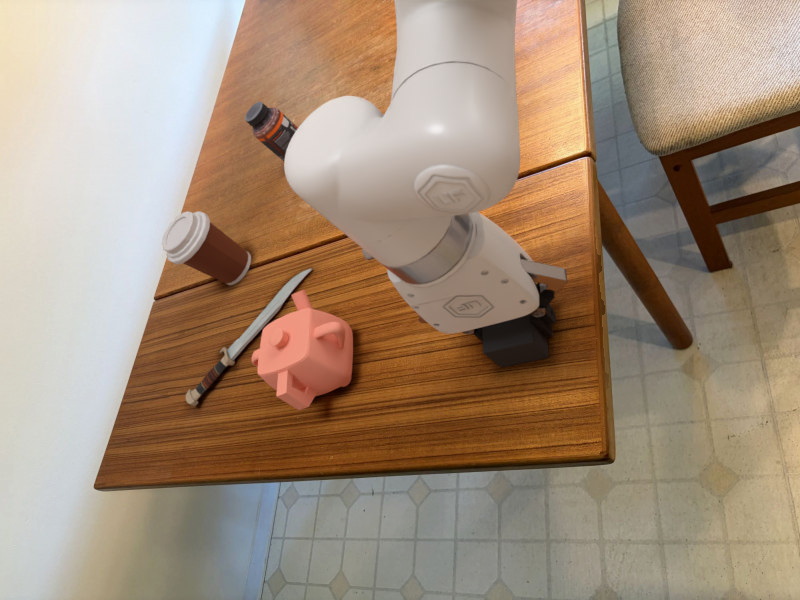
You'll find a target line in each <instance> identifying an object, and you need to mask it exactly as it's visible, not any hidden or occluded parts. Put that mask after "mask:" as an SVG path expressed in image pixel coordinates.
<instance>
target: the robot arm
mask: <svg viewBox="0 0 800 600" xmlns="http://www.w3.org/2000/svg"><path fill="white" fill-rule="evenodd" d="M517 6H518V0H394V10H395V11H394V12H395V23H396V52H395V60H394V68H393V77H392V87H391V97H390V103H389V105H388V107H387V109H386V111H385V113H383V112H382V111H381V110H380V109H379V108H378V107H377V106H376V105H375V104H374V103H373V102H371V101H369V100H368V99H366V98H363V97H361V96H357V95H343V96H339V97H336V98H332V99H330V100H327V101H326V102H325V103H322V104H321V105H319V106H318V107H317V108H315V109H314V110H313V111H312V112H311V113H310V114H309V115H308V116H307V117H306V118H305V119H304V120H303V121H302V123H301V124H299V126H298V129H297V130H296V132H295V133H294V135H293V137H292V139H291V141H290V143H289V145H288V148H287V150H286V155H285V160H284V161H283V170H284V176H285V179H286V181H287V183H288V186H289V187H290V189H291V190H292V191H293V192H294V193H295V194H296V195H297V196H298V197H299V198H300V199H301V200H302V201H304V203H306V204H307V205H309V206H310V207H311V208H312V209H313V210H315V211H316V212H317V213H318V214H320V215H321V216H322V217H323V218H324V219H326V220H327V221H328V222H329V223H331V224H332V225H333V226H334V227H336V228H337V229H338V230H339V231H340V232H342V233H343V234H344V235H345V236H347V237H348V238H349V239H350V240H351V241H352V242H354V243H355V244H356V245H358V246H359V248H361V252H362V255H363V257H364V258H365V260H367V261H372V260H376V261H377V262H378V263H380V264H381V265H382V266H383V267H385V268H386V272H387V277H388V279H389V281H390V282H391V284H392V286H393V287H394V288H395V290H396V291H397V292H398V294H399V295H400V297H401V298H402V299H403V300H404V301H405V303H406V304H407V305H408V306H409V307H410V308H411V309H412V310H413V311H414V312H416V314H417V315H418V322H419V323H421V324H427V325H428V324H429V325H430V326H431V327H432V328H434V329H435V330H436V331H437V332H439V333H442V334H446V335H447V334H448V335H453V334H460V333H462V334H463V335H469V336H470V335H474V337H476V338H477V339H478V340H479V341H480V342H482V343H483V339H482V327H485V326H489V325H493V324H497V323H500V322H504V321H508V320H512V319H516V318H519V317H522V316H525V315H528V314H529V315H530V321H531V322H532V323H533V324H534V325H535V326H536V327H537V328H538V329H539V330H540V331H541V333H542V334H543V335H544V336H546V337H547V338H550V337H553V336H554V331H553V324H556V322H557V316H556V311H555V308H553V306H552V305H551V304H550V303H551V302H552V301H553V300H554V299H555V294H556V293H559V292H560V291H561V290H562V289H563V288H564V287H566V285H567V284H568V281H569V280H568V275H567V269H566V268H565V267H560V266H556V265H551V264H547V263H542V262H539V261H534V260H533V259H532V258H531V256H530V255H529V254H528V252H527V251H526V250H525V249H524V248H523V247H522V246H521V245H520V244H519V243H518V242H517V241H516V240H515V239H514V238H513V237H512V236H511V235H509V233H508V232H506V231H505V230H504V229H503V228H501V227H500V226H499V225H498V224H497V223H495V222H494V221H493V220H491V219H490V218H488V217H487V216H485V215H484V214H482V213H480V212H481V211H484V210H487V209H489V208H492V207H493V206H495V205H498V204H499V203H500V202H501V201H503V200H504V199H506V197H507V196H509V194H510V193H511V192H512V190H513V189H514V187H515V185H516V183H517V181H518V178H519V173H520V168H521V138H520V122H519V104H518V100H517V99H518V97H517V74H516V72H517V71H516V24H517V23H516V21H517V9H518V7H517Z"/></svg>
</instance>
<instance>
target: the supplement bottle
mask: <svg viewBox="0 0 800 600" xmlns="http://www.w3.org/2000/svg"><path fill="white" fill-rule="evenodd" d="M244 120H245V122H246V123H247V124H249V126H250V127H252V135H253V136H254V138H256V139H257V140H258V141H259V142H260V143H262V145H264V146H265V147H266V148H267V149H269V150H270V151H271V153H273V154H274V155H276V156H277V158H279V159H280V160H281V161H282V162H284V160H285V155H286V150H287V148H288V145H289V143H290V141H291V139H292V137H293V135H294V133H295V132H296V130H297V129H298V128H299V126H297V125H296V124H295V123H294V122H292V121H291V120H290V119H289V118H288V117H287V115H285V114H284V113H283V112H282V111H281V110H280V109H279V108H277V107H268V106H267V105H266V104H265V103H264V102H262V101H257V102H255V103H254V104H252V105H251V106H250V108H249V109H248V110H247V112H246V114H245V116H244Z"/></svg>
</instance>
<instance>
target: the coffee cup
mask: <svg viewBox="0 0 800 600" xmlns="http://www.w3.org/2000/svg"><path fill="white" fill-rule="evenodd" d="M161 246H162V250H163V251H165V253H166V258H167V260H168V261H169V262H171V263H172V264H174V265H176V266H178V265H182V264H184V265H185V266H188V267H190V268H192V269H194V270H197V271H198V272H200V273H203V274H205V275H207V276H209V277H211V278H213V279H215V280H217V281H220V282H222V283H224V284H226V285H228V286H233V285H236V284H237V283H239V282H240V281H241V280H242V279H243V278H244V277H245V276H246V274H247V273H248V271H249V269H250V266H251V263H252V255H251V253H250V252H249V251H248V250H247V249H245V248H244V247H242V246H241V245H240V244H238V243H237V242H236V241H235V240H233V239H232V238H231V237H230V236H228V234H226V233H225V232H223V231H222V230H220V228H218V227H217V226H216V225H215V224H213V223H212V222H211V219H210V217H209V215H208V214H207V213H205V212H202V211H200V210H199V211H196V212H192V211H187V210H186V211H184V212H181V213H179V215H176V216H175V218H174V219H173V220H172V221H171V222H170V224H169V226H167V228H166V229H165V232H164V234H163V237H162V240H161Z"/></svg>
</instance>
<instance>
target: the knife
mask: <svg viewBox="0 0 800 600" xmlns="http://www.w3.org/2000/svg"><path fill="white" fill-rule="evenodd" d="M312 270H313V268H308V269H305V270H303V271H301V272H300V273H298V274H296V275H294V276H293V277H292V278H291V279H290V280H289V281H288V282H286V283H285V285H284V286H282V288H281V289H280V290H279V291H278V292H277V294H275V296H274V297H273V299H271V301H269V303H268V304H267V306H266V307H265V308H264V309H263V310H262V311H261V312H260V314H259V315H258V316H257V317H256V319H254V321H252V323H251V324H250V325H249V326H248V327H247V329H246V330H245V331H244V332H243V333H242V334H241V335H240V337H239V338H237V339H236V340H234V342H233V343H232V344H231V345H230V346H229V347H228V348H227V347H225V346H224V347H222V348H220V349H221V350H219V354H222V353H224V356H223V357H222V358H221V359H220V360H219V361H218V362H217V363H216V364H215V365H214V366H213V367H212V368H211V369H210V370H209V371H208V373H207V374H206V375H205V376H204V378H202V380H201V381H200V382H199V384H198V385H197V386H196V388H194V389H191V388H189V389H188V390H187V392H186V393H185V401H186V403H187V404H188V405H190V406H192V407H196V406H197V405H198V404H199V399H200V398H201V397H202V396H203V395H204V394H205V393H206V392H207V390H209V388H211V386H212V385H213V384H214V383H215V382H216V381H217V379H218V378H219V377H220V376H221V374H222V373H223V372H224V371H225V369H226V368H227V367H228V366H231V367H233V366H234V365H235V363H236V360H235V359H236V358H237V357H238V356H239V355H240V354H241V353H242V351H243V350H244V349H245V348H246V347H247V346H248V345H249V343H251V342H252V341H253V339H254V338H255V337H256V336H257V335H258V334H259V333H260V332H261V330H263V329H264V328H265V327H266V326H267V325H268V324H269V323H270V321H271V320H272V319H273V317H275V315H276V314H277V313H278V312H279V311H280V310H281V308H282V307H283V306H284V304H285V301H287V299H288V298H289V296H290V295H291V294H292V293H293V291H294V290H295V289H296V288H297V287H298V285H299V284H300V283H301V282H302V281H303V280H304V279H305V278H306V276H307V275H308V274H309V273H310V272H311V271H312Z"/></svg>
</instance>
